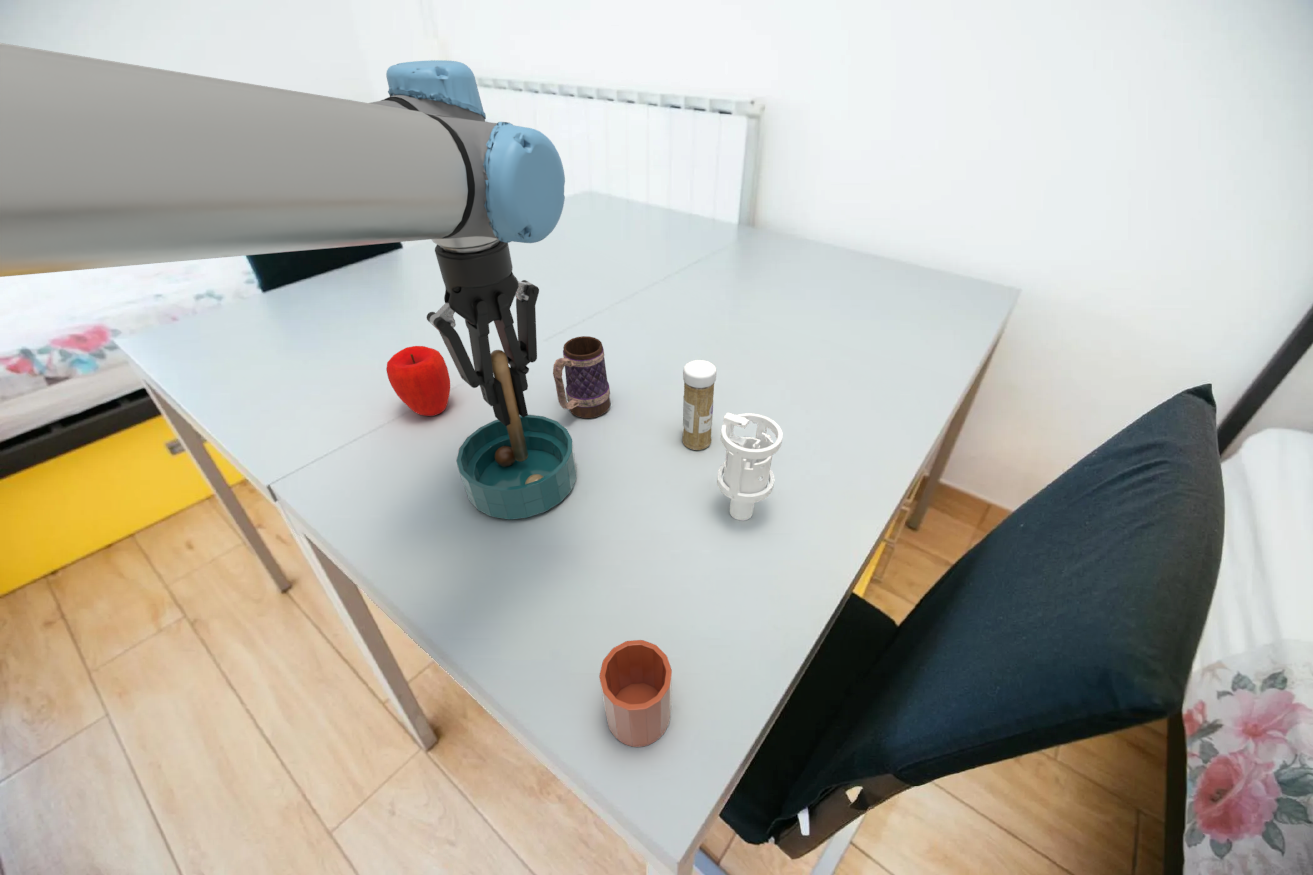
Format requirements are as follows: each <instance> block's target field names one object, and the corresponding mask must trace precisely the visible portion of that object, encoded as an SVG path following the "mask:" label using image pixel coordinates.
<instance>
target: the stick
mask: <svg viewBox="0 0 1313 875" xmlns="http://www.w3.org/2000/svg"><path fill="white" fill-rule="evenodd" d="M490 353H491V360H492V368H493V375H494V378H495V379H497V380H498V381H499V382H501V385H502V389H503V393H504V398H505V402H506V406H507V410H508V414H509V419H510V423H511V424H509V425H507V426H506V427H507V431H508V435H509V439H510V443H511V447H512V451H513V455H514V458H515V459H516V460H517V461H519V462H522V461H525V460H526V459H527V457H528V451H527V446H526V442H525V437H524V433H523V428H522V424H521V419H520V414H519V410H518V406H517V401H516V397H515V392H514V388H513V383H512V379H511V374H510V370H509V367H510V365H509V364H508V361H507V356H506V354H505V353H504V350H503V349H494V350H493V351H492V352H490Z"/></svg>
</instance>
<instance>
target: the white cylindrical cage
mask: <svg viewBox="0 0 1313 875" xmlns="http://www.w3.org/2000/svg"><path fill="white" fill-rule="evenodd" d="M750 422H752V424H756V425H757V427H756V433H755V437H752V436H751V437H750V436H738V435H736V434H734V430H735V426H737V427H739V428H742V429H746V428H747V426H748V425H749V424H750ZM768 429H769V430H770V431H771V432H772V433H773V434H774V435H775V437H776V440H775V442H774V440H773V439H772V436H771V435H770V434H767V432H768ZM720 431H721V432H720V441H721V444H722V446H723V448H724V449H726V450H725V458H724V462H723V463H721V465H720V466H719V468H718V470H717V477H716V483H717V484H716V485H717V487H718V489H719V491H720V492H721V493H722V494H723V495H724V496H725V497H727V498H728V499H729V500H730V504H729V514H730V516H731V517H732V518H733V519H735V520H736V521H741V522H742V521H747V520H750V519H751V518H752V517H753V514H754V508H755V503H758V502H762V501H763V500H765V499H767V498H768V497H769V496H770V495H771V494H772V493H773V490H774V486H775V478H776V477H775V474H774V471H773V470H772V469H771V465H772V461H773V455H775V454H776V453H778V451H779V450H780V449H781V446H782V441H783V436H784V434H783V430H782V428H781V426H780V425H779V424H778V423H777V422H776V421H775V420H774V419H772V418H770V417H769V416H766V415H763V414H759V413H751V412H745V413H739V414H735V413H731V412H726V413H725V414H724V416H723V421H722V426H721V429H720Z"/></svg>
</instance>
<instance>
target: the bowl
mask: <svg viewBox="0 0 1313 875" xmlns="http://www.w3.org/2000/svg"><path fill="white" fill-rule="evenodd" d="M519 415H520V414H519ZM520 419H521V424H522V428H523V433H524V437H525V442H526V446H527V451H528V457H527V459H526V460H525V461H522V462H519V461H517V460H515V462H514V463H513V464H512V465H510V466H508V467H503V466H500V465H499V464H498V463H497V462H496V461H495V452H496V451H497V449H498V448H500V447H502V446H509V447H511V443H510V439H509V435H508V431H507V427H506V426H505V425H504V424H503V423H501V422H500V421H499V420H498V419H495V420H491V421H490V422H489V423H486V424H484V425H482V426H480V427H478V428H477V429H476V430H475V431H473V432H472V433H471V434H470V435H468V436H467V437H466V438H465V440H464V441H463V442H462V444H461V445H460V447H459V448H458V453H457V456H456V466H457V468H458V472H459V475H460V478H461V482H462V484H463V486H464V490H465V493H466V495H467V496H466V497H467V499H468V501H469V503H471V504H472V506H474V508H475V509H476V510H477V511H479V512H481V513H483V514H485V515H487V516H489V517H491V518H497V519H504V520H517V519H527V518H531V517H534V516H537V515H540V514H543V513H546V512H547V511H549V510H551V509H552V508H554V507H555V506H557V505H559V504H560V503H562V502H563V500H564V499H565V498H567V496H568V495H569V494H570V493H571V492H572V489H573V488H574V485H575V483H576V480H577V463H576V462H577V461H576V456H575V448H574V442H573V438H572V436H571V434H570V432H569V431H568V429H567V428H566V427H565V426H564V425H563V424H561V423H560V422H559V421H557V420H555V419H552V418H549V417H547V416H544V415H535V414H528V416H525V417H522V416H521V415H520ZM511 448H512V447H511ZM534 474H539V475H542V476H543V478H541V479H539V480H537V481H534V482H531V483H528V484H525V482H526V480H527V479H528V477H530V476H531V475H534Z"/></svg>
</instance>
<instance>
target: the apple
mask: <svg viewBox="0 0 1313 875" xmlns="http://www.w3.org/2000/svg"><path fill="white" fill-rule="evenodd" d="M386 374H387V379H388V382H389V383H390V386H391V388H392V389H393V391H394V393H395V394H396V396H397V397H398V398H399V399H400V400H401V402H402V403H403V404H405V406H407V407H408V408H409V409H410V410H411V411H413V413H415V414H418V415H419V416H425V417H433V416H437V415H439V414H442V413H443V412H444V411H445V410H446V409H447V406H448V403H449V398H450V393H451V378H450V373H449V368H448V366H447V363H446V361H445V358H444V357H443V355H442V354H441V353H440V351H438V350H437V349H435V348H432V347H429V346H425V345H412V346H408V347H405V348H403V349H400V350H399V351H398V352H396V353H394V354H393V355H392V357H390V358H389V360H388V361H387V362H386Z"/></svg>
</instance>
